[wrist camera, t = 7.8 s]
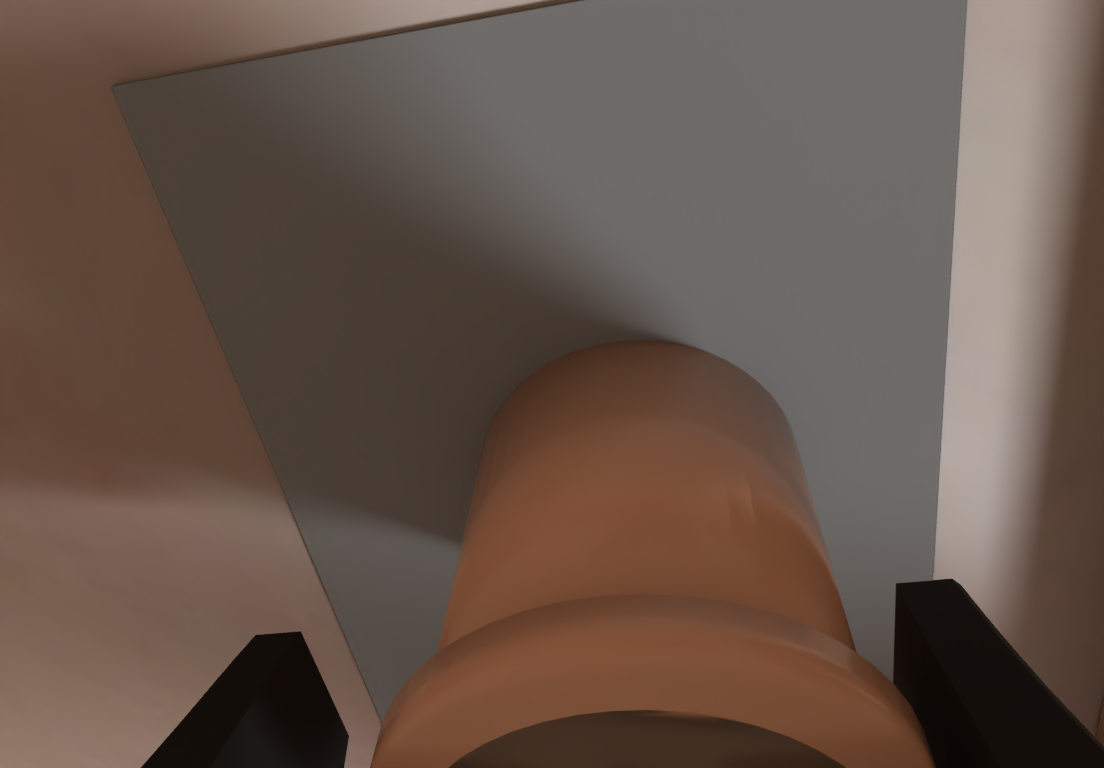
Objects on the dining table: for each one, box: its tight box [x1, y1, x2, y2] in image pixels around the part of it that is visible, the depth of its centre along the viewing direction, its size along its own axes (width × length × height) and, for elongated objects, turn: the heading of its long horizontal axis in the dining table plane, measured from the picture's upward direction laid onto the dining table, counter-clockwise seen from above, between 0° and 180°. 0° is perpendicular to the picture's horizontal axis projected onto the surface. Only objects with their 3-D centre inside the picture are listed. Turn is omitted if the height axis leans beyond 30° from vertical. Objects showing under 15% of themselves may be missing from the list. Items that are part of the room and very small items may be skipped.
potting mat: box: [111, 0, 967, 722], centre depth 14 cm, size 14×10×1 cm
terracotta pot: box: [370, 340, 936, 768], centre depth 11 cm, size 6×6×6 cm
